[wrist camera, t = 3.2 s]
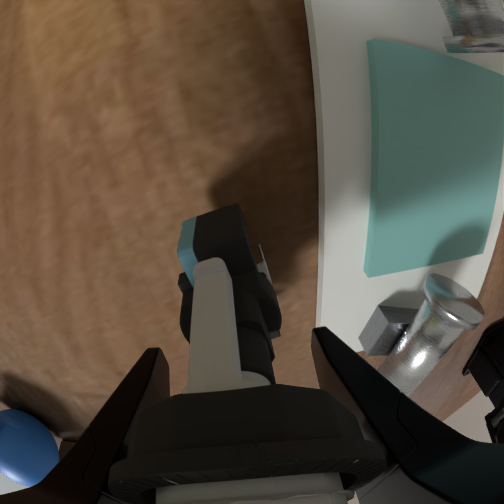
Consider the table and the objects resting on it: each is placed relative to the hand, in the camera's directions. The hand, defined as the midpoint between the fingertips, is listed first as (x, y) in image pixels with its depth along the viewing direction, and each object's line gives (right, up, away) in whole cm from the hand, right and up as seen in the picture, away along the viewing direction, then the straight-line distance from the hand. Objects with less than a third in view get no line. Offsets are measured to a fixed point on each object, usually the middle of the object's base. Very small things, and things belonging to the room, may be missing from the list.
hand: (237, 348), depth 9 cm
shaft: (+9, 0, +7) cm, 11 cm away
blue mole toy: (-25, -15, +12) cm, 31 cm away
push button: (0, +2, +4) cm, 4 cm away
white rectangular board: (+9, +7, +3) cm, 12 cm away
